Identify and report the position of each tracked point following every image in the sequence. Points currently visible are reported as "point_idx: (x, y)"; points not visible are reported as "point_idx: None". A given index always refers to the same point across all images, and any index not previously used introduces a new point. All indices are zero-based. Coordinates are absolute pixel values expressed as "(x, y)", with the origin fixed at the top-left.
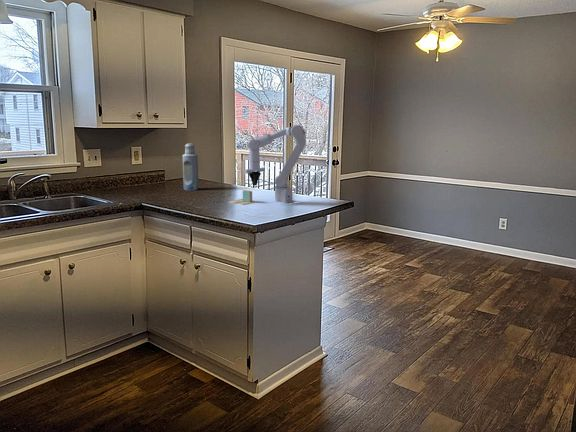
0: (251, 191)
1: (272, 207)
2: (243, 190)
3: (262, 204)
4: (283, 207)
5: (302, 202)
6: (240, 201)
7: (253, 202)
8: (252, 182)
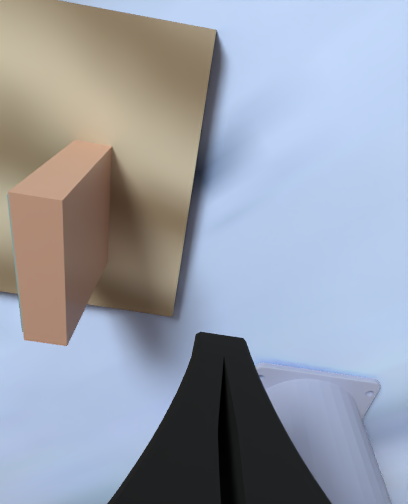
0: (51, 343)
1: (80, 436)
2: (27, 201)
3: (129, 344)
4: None
5: None
6: (37, 130)
7: None
8: (186, 376)
